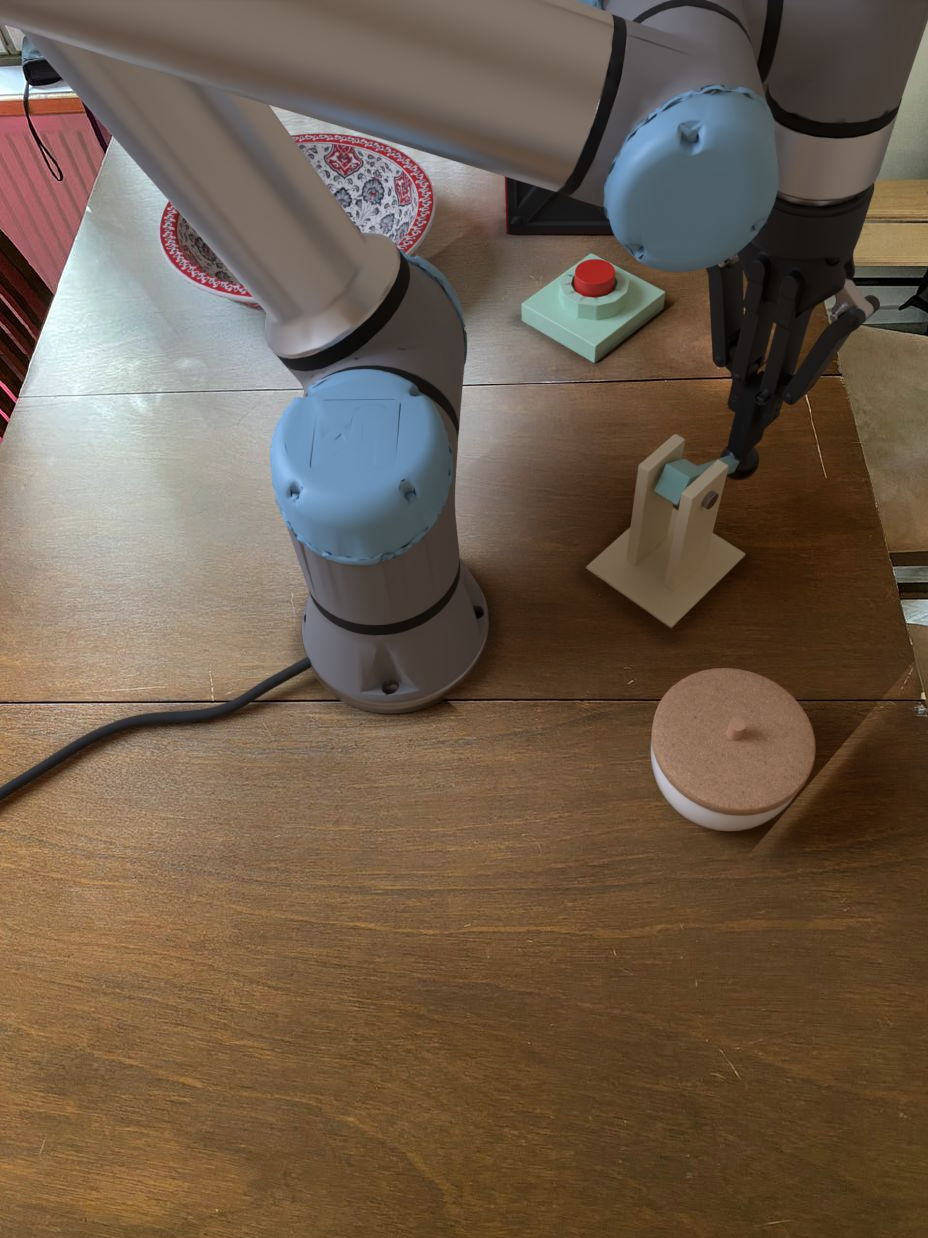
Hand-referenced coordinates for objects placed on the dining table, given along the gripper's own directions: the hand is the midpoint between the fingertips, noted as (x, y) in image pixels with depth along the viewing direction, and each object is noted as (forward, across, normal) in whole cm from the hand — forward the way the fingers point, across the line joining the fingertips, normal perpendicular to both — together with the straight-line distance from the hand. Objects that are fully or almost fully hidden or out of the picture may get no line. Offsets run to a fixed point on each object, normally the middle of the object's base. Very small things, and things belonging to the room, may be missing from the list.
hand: (744, 444), depth 79 cm
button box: (+8, +26, -12) cm, 30 cm away
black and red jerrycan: (+8, +40, -24) cm, 47 cm away
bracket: (+8, 0, +9) cm, 12 cm away
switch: (+1, 0, +5) cm, 5 cm away
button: (+5, +26, -12) cm, 29 cm away
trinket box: (+8, -15, +22) cm, 28 cm away
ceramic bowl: (+8, +54, +3) cm, 55 cm away
